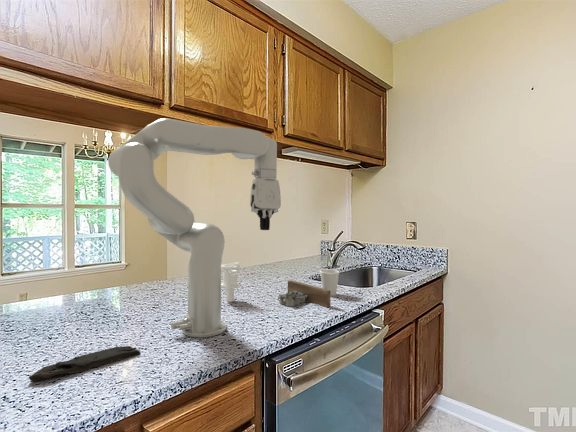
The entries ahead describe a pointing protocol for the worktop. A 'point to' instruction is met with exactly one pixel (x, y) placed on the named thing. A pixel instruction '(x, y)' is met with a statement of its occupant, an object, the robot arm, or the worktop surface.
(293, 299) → the egg carton
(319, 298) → the walnut board
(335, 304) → the worktop surface
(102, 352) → the wood
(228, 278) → the white plastic bottle
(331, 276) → the dixie cup
